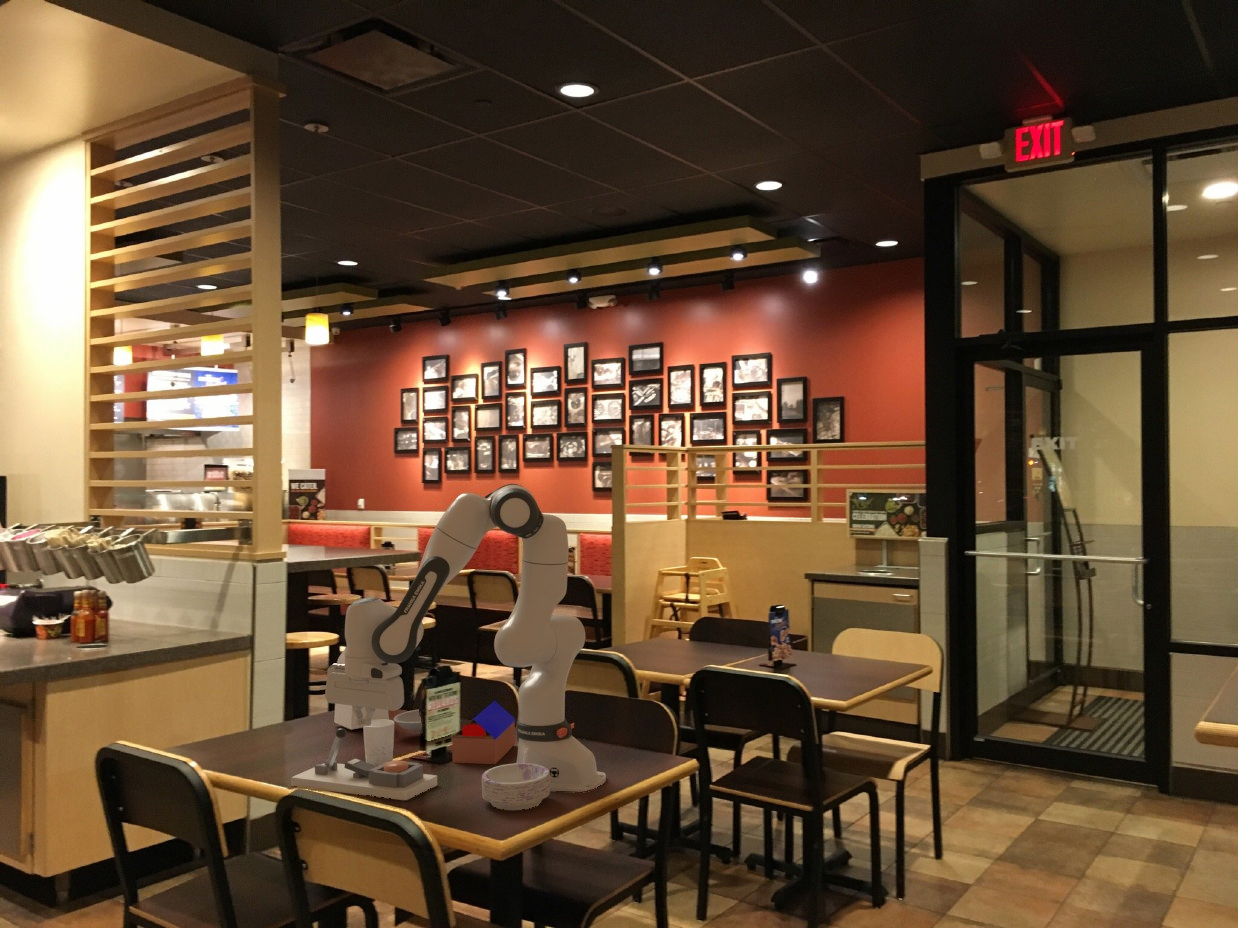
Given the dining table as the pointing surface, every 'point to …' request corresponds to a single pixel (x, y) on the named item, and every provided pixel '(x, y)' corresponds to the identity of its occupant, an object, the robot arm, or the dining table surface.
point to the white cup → (379, 741)
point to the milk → (346, 714)
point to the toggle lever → (335, 747)
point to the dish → (409, 721)
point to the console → (367, 781)
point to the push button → (396, 766)
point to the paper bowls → (516, 785)
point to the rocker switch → (359, 766)
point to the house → (485, 737)
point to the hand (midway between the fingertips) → (363, 724)
